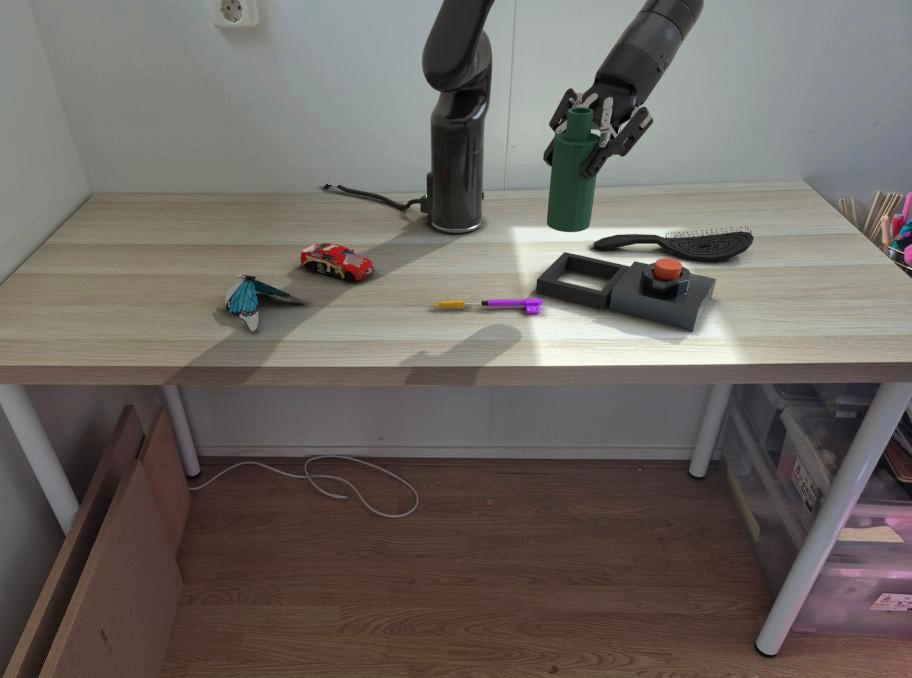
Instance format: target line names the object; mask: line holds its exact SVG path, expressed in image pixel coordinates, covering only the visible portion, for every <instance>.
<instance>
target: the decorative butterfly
mask: <svg viewBox="0 0 912 678" xmlns="http://www.w3.org/2000/svg"><path fill="white" fill-rule="evenodd" d="M273 275H274V274H273V273H272V274H271V276H273ZM268 276H270V274H269V275H268V274H267V277H268ZM234 277H235V278H238V279H240V280H239V281H238V282H237V283H236V284H234V285H232V286H230V287H228V289H227V290H226V293H225V299H224V300H225V301H224V304H225V308H226V310H227V312H228V313H229V314H231V315H238V316H239V318H240V319H242V320H243V321H245V323H246V325H247V326H248V328H249V330H250V331H251V332H255V331H256V330H257V328H258V324H259V302H258V297H257V294H256V293H260V294H263V295H267V296H275V297H279V298H283V299H287V300H289V301H293V302H296V303H299V304H305V301H303V300H302V299H300V298H298V297H296V296H295V295H293V294H290V293H288V292H286V291H284V290H281V289H279V288H277V287H274V286H272V285H269V284H267V283H265V282H262V281H260V280H257V277H259V275H258V276H257V275H256V276H255V275H250V274H239V275H234Z"/></svg>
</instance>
